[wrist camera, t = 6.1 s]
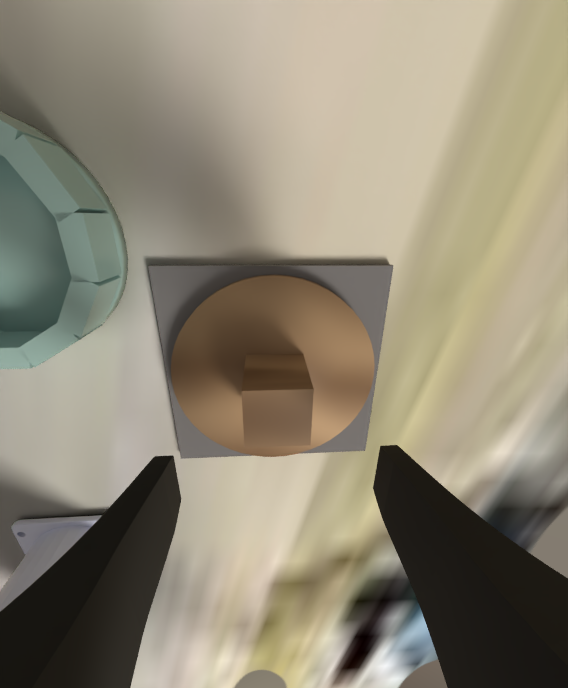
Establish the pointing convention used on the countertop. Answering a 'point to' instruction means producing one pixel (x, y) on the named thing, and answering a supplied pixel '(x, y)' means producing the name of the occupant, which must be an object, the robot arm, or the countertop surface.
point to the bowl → (52, 248)
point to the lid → (272, 366)
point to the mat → (203, 280)
